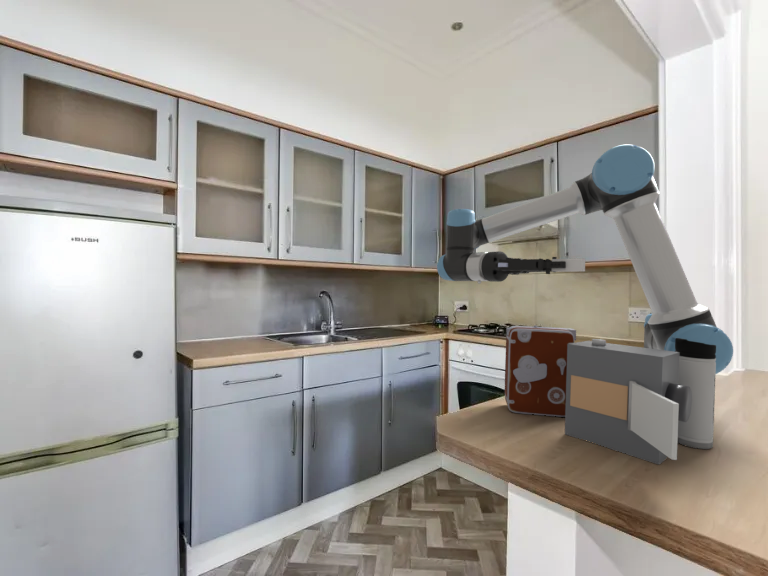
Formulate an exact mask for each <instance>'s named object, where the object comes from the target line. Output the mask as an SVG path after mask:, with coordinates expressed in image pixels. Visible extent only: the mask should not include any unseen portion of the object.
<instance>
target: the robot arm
mask: <svg viewBox="0 0 768 576" xmlns="http://www.w3.org/2000/svg"><path fill="white" fill-rule="evenodd" d="M654 174H655V161H654V158H653V157H652V155H651V153H650V152H649V151H647V150H646V149H645V148H643V147H642V146H639V145H635V144H627V143H626V144H620V145H617V146H613V147H612V148H609V149H607V150H606V151H605V152H603V153H602V155H600V156H599V158H597V159H596V161H595V162H594V164H593V167H592V169H591V173H590V174H588V175H587V176H584V177H583V178H581V179H579V180H575V181H573V182H572V183H571V185H570V187H567V188H564V189H561V190H557V191H556V192H553V193H549V194H547V195H544V196H541V197H539V198H538V197H537V198H536V199H533V200H530V201H528V202H524V203H522V204H519V205H517V206H513V207H510V208H508V209H505V210H503V211H499V212H496V213H494V214H491V215H489V216H486V217H482V218H480V219H477V220H476V213H475V210H472V209H468V208H456V209H451V210H450V211H448V212H447V218H446V222H445V223H446V247H445V248H446V250H445V254H443V255H441V256H440V257H439V258H438V262H436V263H437V264H436V270H437V273H438V275H439V277H440V278H441V279H442V280H444V281H449V282H477V284H482V282H491V283H492V282H495V283H496V282H498V283H499V282H500V283H501V282H504V281H505V280H506V279H507V278H508V277H509V275H512V276H513V275H517V276H518V275H520V274H523V275H524V274H525V275H526V274H530V273H545V274H546V275H551V273H558V272H559V273H561V272H565V273H566V272H567V273H568V272H572V273H573V272H586V258H585V257H578V258H577V257H576V258H570V257H569V258H558V257H557V256H552V259H550V258H545V259H544V258H536V259H535V258H530V259H529V258H520V257H519V258H515V257H508V255H507V254H506V253H505V252H504V251H500V250H499V251H479V252H475V250H477V249H478V248H479V247H481V246H484V245H487V244H488V243H491V242H495V241H499V240H501V239H505V238H506V237H507V238H508V237H510V236H514V235H517V234H519V233H522V232H525V231H528V230H531V229H535V228H537V227H542V226H543V225H546V224H550V223H553V222H556V221H559V220H562V219H565V218H568V217H571V216H573V215H577V214H579V215H581V216H586V215H589V214H592V213H593V214H594V213H595V212H599V211H602V212H603V215H604V216H606V217H609V218H612V219H613V220H614V222H615V225H616V227H617V230H618V232H619V235H620V237H621V239H622V242H623V244H624V247H625V248H626V249H625V250H626V252H627V254H628V257H629V259H630V262H631V264H632V268H633V269H634V272H635V274H636V277H637V279H638V281H639V284H640V287H641V289H642V291H643V293H644V296H645V298H646V301H647V304H648V307H649V308H650V311H651V313H648V314H646V315H645V318H644V323H643V329H644V331H643V332H644V334H643V337H644V338H643V348H650V349H658V350H666V351H674V352H675V350H676V349H675V339H676V338H681V339H687V341H694V342H700V343H704V344H710V345H716V353H715V355H716V361H715V362H716V375H717V374H719V373H722V371H724V370H725V369H726V368H727V367H728V366H729V364H730V363H731V362H732V359H733V356H734V346H733V343H732V341H731V339H730V337H729V336H728V335H727V334H726V333H725V332H724V331H723V330H722V329H721V328H719V327H717V324H716V322H715V319H714V318H713V315H712V312H711V311H710V307H708V306H705V305H704V304H703V305H702V304H700V303H698V301H697V300H696V296H695V295H694V292H693V290H692V288H691V285H690V283H689V279H688V278H687V276H686V273H685V271H684V268H683V266H682V264H681V261H680V259H679V257H678V255H677V252H676V250H675V247H674V245H673V242H672V240H671V238H670V236H669V233H668V230H667V228H666V225H665V223H664V221H663V219H662V215H661V214H660V212H659V209H658V207H657V205H656V204H657V203H656V202H657V199H658V198H659V197H660V194H661V193H660V191H659V189H658V188H659V187H658V186H657V183H656V181H655V178H654Z"/></svg>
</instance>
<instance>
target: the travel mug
mask: <svg viewBox="0 0 768 576" xmlns="http://www.w3.org/2000/svg"><path fill="white" fill-rule="evenodd" d="M675 349H676V350H675V352H680V356H679V385H684V386H689V387H690V388H691V391H692V408H691V413H690V416H689V419H688V421H687V422H683V421H678V441H677V444H679V443H680V444H679V445H681V444H682V446H684V445H686V446H685V447H688V446H689V447H688V448H692V447H693V449H697V448H698V449H697V450H699V449H700V450H709V449H712V448H713V447H714V431H715V430H714V426H715V423H714V422H715V403H716V402H715V401H716V399H715V397H716V377H717V376H716V375H717V374H716V362H715V361H716V355H715V353H716V345H710V344H704V343H700V342H694V341H687V339H681V338H676V339H675Z"/></svg>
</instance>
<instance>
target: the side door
mask: <svg viewBox="0 0 768 576" xmlns="http://www.w3.org/2000/svg"><path fill="white" fill-rule="evenodd" d="M678 412H679V404H678V403H676V402H674V401H672V400H669V399H667V398H665V397H663V396H661V395H659V394H657V393H655V392H653V391H651V390H649V389H647V388H645V387H643V386H640V385H638V384H636V382H635V381H629V408H628V430H630V431H633V432H634V433H636V434H637V435H639V436H640V437H641V438H643V439H644V440H645V441H647V442H648V443H650V444H651V445H652V446H654V447H655V448H656V449H658V450H659V451H661V452H662V453H663V454H665V455H666V456H667V457H668V459H671V460H673V461H677V460H678V443H677V441H678Z"/></svg>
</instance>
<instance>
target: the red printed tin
mask: <svg viewBox="0 0 768 576" xmlns="http://www.w3.org/2000/svg"><path fill="white" fill-rule="evenodd" d="M505 330H506V336H505V337H506V338H505V360H504V361H505V363H504V364H505V366H504V400H505V402H506V403H505V404H506V405H507V409H508V410H509V411H510V412H512V413H515V414H522V415H532V414H534V416H535V415H536V416H544V415H546V416H545V417H555V416H556V417H558V418H565V409H566V377H567V345H568V344H570V343H575V341H577V330H576V329H574V328H569V327H554V326H553V327H552V326H538V325H533V326H530V325H529V326H528V325H512V326H509V327H506V329H505Z"/></svg>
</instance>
